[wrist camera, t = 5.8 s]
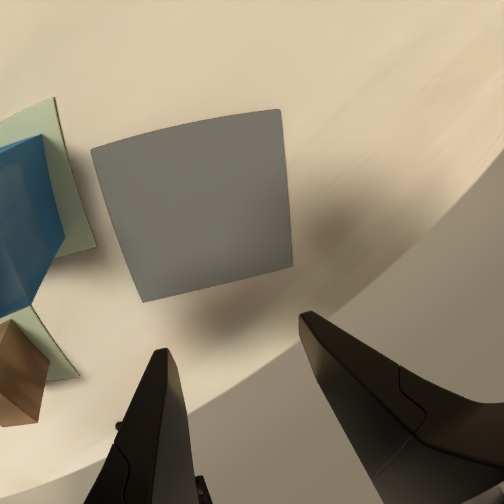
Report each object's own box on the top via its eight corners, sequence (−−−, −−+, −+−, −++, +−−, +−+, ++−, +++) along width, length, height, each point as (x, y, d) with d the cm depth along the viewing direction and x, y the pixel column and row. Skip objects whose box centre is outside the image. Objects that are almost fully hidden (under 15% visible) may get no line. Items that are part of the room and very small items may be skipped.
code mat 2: (79, 376, 21) (79, 377, 21) (9, 382, 20) (9, 384, 20) (24, 294, 16) (23, 296, 16) (-45, 312, 15) (-46, 314, 15)
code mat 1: (97, 245, 16) (96, 247, 16) (-8, 276, 15) (-9, 278, 15) (53, 96, 11) (52, 96, 11) (-55, 156, 10) (-57, 157, 10)
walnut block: (50, 361, 19) (37, 422, 14) (16, 372, 19) (2, 427, 14) (11, 318, 17) (-14, 380, 12) (-21, 334, 16) (-43, 389, 11)
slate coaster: (290, 263, 20) (292, 266, 20) (142, 298, 19) (142, 302, 19) (277, 108, 15) (280, 109, 15) (92, 148, 14) (90, 150, 13)
